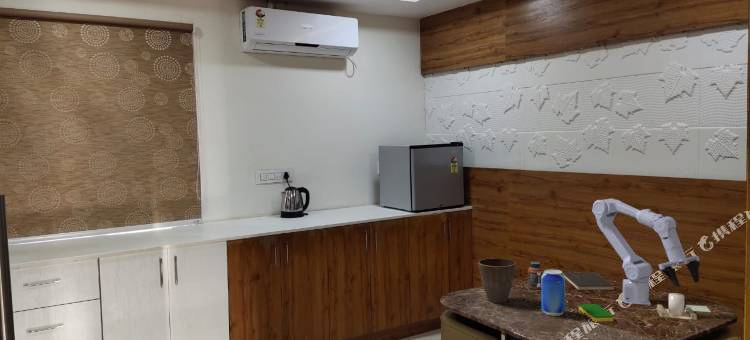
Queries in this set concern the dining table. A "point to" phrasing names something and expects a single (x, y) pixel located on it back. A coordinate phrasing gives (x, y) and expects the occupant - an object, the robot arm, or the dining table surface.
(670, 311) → the white domed cylinder
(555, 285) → the beer can
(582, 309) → the dish sponge
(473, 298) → the dining table surface
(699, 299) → the dining table surface
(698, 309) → the mat
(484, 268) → the plant pot
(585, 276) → the hardcover book
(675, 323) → the dining table surface
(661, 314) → the cradle
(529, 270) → the supplement bottle
